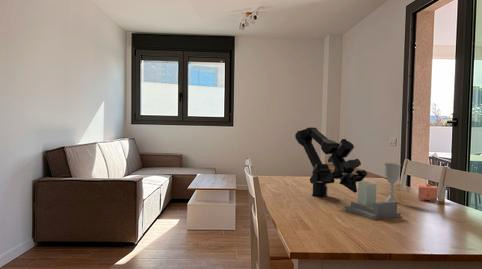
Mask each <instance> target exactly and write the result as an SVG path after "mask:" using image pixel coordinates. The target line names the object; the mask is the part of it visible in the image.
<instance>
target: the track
mask: <svg viewBox="0 0 482 269" xmlns="http://www.w3.org/2000/svg"><path fill="white" fill-rule="evenodd" d="M396 201H397V200H396ZM396 201H386V200H385V201H376V202H374V205H373V208H370V207H367V206H364V205H361V204H358V202H355V201H351V202H350V205H345V206H344V210H345V211H348V212H350V213H353V214H356V215H357V216H358V215H359V216H361V217H364V218H367V219H370V220H373V221H374V220H383V219H392V218H401V217H402V216H401V214H402V213H401V212H399V211H398V201H397V202H396Z"/></svg>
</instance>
